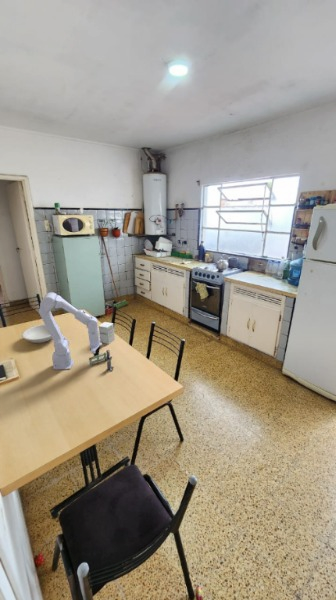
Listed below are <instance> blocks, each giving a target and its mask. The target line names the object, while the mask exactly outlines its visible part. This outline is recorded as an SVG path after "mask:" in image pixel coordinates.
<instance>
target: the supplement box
mask: <svg viewBox="0 0 336 600" xmlns="http://www.w3.org/2000/svg"><path fill="white" fill-rule="evenodd" d="M98 331H99V339H100V343H102V344H108V345H110V344H111V343H112V342H114V341H115V337H116V336H115V327H114V323H113V322H107V321H104V322H102V323H100V324H99V325H98Z"/></svg>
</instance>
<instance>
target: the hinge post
mask: <svg viewBox="0 0 336 600" xmlns="http://www.w3.org/2000/svg"><path fill="white" fill-rule="evenodd" d="M105 353H106V358H107V359H105V360H104V361H105V362H107V360H111V361H112V358H113V356H110V355H111V354H110V349H109V350H108V349H107V350H106V351H105Z"/></svg>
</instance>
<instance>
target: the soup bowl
mask: <svg viewBox="0 0 336 600" xmlns="http://www.w3.org/2000/svg"><path fill="white" fill-rule="evenodd" d="M57 326H58V328H59V330H60V331H61V327H60V326H59V325H58V324H57ZM21 337H22V338H23V340H26V341H29V342H30V343H36V344H39V343H42V344H43V343H45V342H49V341H50V340H53V339H52V337H51V335H50V333H49V331H48V329H47V327H46V325H45V323H42V324H37V325H34V326H31V327H29V328H27V329H26V330H24V331H22V334H21Z"/></svg>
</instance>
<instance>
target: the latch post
mask: <svg viewBox="0 0 336 600" xmlns="http://www.w3.org/2000/svg"><path fill="white" fill-rule="evenodd" d="M106 366H107V369H106V371H107V372H113V371H114V366H112V359H111V360H106Z"/></svg>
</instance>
